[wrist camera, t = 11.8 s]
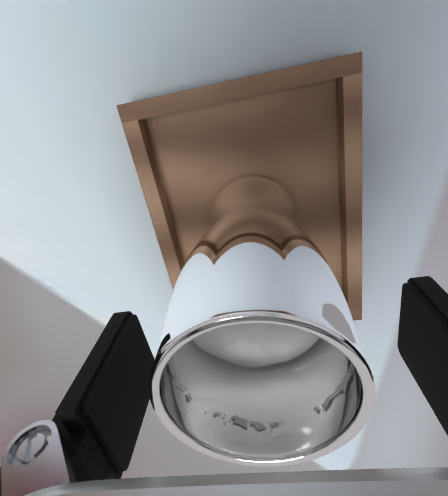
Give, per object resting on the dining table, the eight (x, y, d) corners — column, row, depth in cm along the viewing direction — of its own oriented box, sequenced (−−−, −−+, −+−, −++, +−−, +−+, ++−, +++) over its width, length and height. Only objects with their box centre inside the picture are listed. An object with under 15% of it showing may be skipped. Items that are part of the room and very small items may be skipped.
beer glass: (186, 224, 23) (100, 408, 10) (245, 146, 20) (238, 255, 7) (258, 274, 24) (270, 494, 11) (322, 209, 22) (439, 398, 8)
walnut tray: (130, 104, 21) (116, 105, 18) (347, 57, 19) (362, 51, 16) (192, 318, 28) (187, 337, 26) (351, 300, 26) (361, 319, 24)
